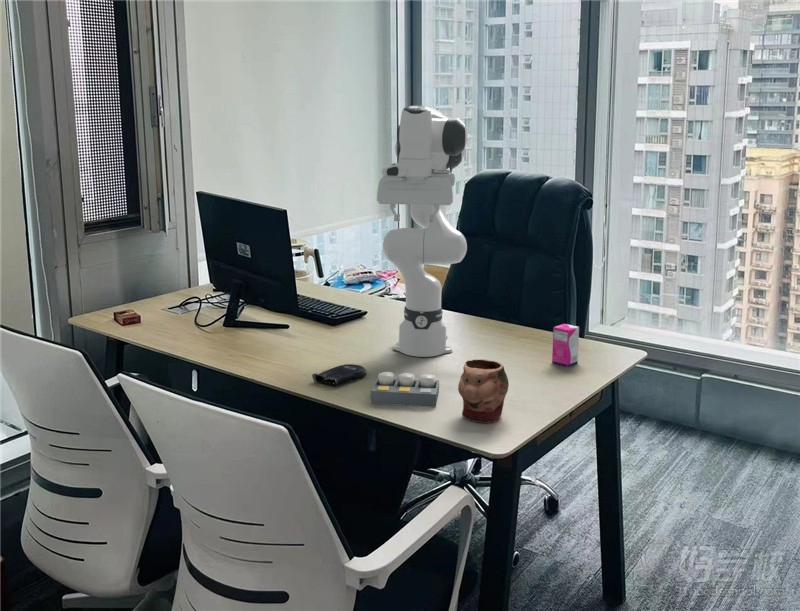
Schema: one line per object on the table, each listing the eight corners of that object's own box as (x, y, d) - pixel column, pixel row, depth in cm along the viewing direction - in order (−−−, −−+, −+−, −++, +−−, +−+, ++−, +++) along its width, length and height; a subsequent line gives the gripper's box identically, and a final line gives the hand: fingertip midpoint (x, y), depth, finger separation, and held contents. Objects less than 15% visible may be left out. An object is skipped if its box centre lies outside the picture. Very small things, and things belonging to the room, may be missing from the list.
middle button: (400, 381, 230) (400, 372, 230) (414, 382, 230) (414, 373, 229) (398, 386, 226) (398, 377, 226) (413, 387, 226) (413, 378, 225)
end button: (379, 380, 231) (379, 371, 230) (394, 381, 230) (394, 372, 230) (377, 385, 227) (377, 376, 226) (392, 386, 227) (392, 377, 226)
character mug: (470, 398, 228) (472, 348, 224) (515, 404, 224) (518, 354, 220) (448, 424, 210) (450, 371, 206) (496, 432, 206) (499, 378, 202)
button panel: (377, 389, 234) (377, 376, 233) (438, 392, 232) (439, 379, 231) (371, 403, 223) (371, 389, 222) (435, 407, 221) (436, 393, 220)
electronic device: (339, 395, 233) (373, 374, 245) (335, 376, 232) (370, 355, 243) (314, 392, 239) (349, 371, 251) (310, 373, 238) (345, 353, 249)
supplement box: (561, 358, 263) (564, 322, 260) (578, 363, 259) (580, 326, 256) (550, 362, 259) (553, 326, 256) (567, 367, 255) (569, 330, 252)
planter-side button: (420, 382, 230) (420, 373, 229) (435, 383, 229) (435, 374, 229) (419, 387, 226) (419, 378, 225) (434, 388, 225) (434, 379, 225)
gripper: (454, 168, 226) (453, 220, 229) (378, 167, 227) (377, 218, 230) (455, 170, 220) (453, 223, 223) (376, 169, 220) (376, 222, 224)
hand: (414, 221), depth 227 cm, fingers open, 8 cm apart
